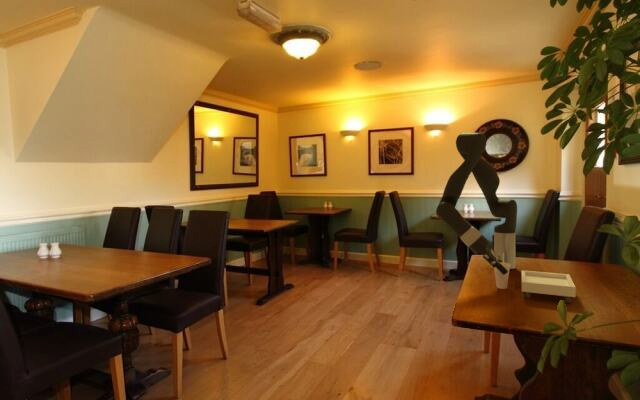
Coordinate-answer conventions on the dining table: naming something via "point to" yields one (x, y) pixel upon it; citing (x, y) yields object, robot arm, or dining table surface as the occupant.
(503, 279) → the smoothie
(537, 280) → the cart
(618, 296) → the dining table surface
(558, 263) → the dining table surface
